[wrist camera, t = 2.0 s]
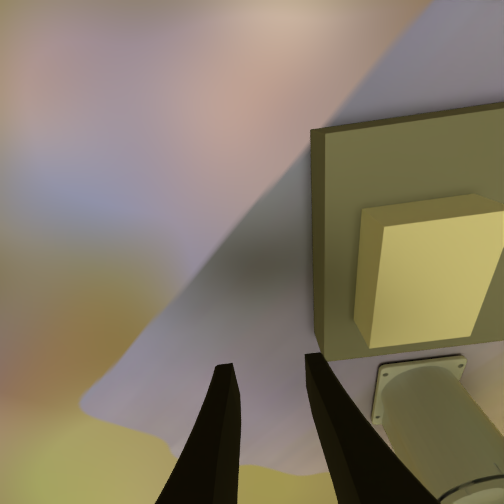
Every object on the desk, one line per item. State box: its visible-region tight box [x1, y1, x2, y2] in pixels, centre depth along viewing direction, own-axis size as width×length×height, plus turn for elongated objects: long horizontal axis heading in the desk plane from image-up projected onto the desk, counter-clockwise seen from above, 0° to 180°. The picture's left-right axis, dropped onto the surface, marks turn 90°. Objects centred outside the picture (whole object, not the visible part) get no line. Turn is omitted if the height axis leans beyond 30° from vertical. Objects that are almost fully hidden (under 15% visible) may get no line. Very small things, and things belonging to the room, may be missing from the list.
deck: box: [310, 102, 504, 362], centre depth 17 cm, size 16×14×3 cm
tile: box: [354, 194, 504, 349], centre depth 15 cm, size 8×6×2 cm
